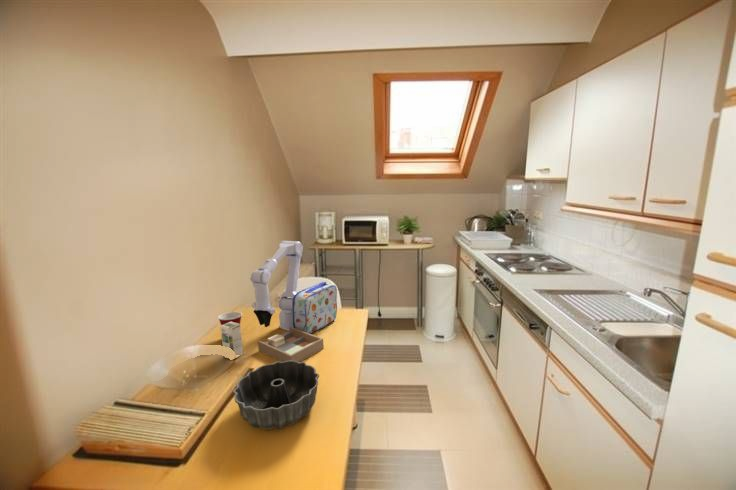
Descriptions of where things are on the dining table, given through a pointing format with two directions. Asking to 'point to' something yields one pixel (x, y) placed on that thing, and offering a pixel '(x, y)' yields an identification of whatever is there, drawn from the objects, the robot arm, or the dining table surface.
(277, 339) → the ash block
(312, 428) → the dining table surface
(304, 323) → the lunch box
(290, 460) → the dining table surface
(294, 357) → the divided box
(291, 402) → the bundt pan
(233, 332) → the syrup box
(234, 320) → the plastic cup
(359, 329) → the dining table surface
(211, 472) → the dining table surface
